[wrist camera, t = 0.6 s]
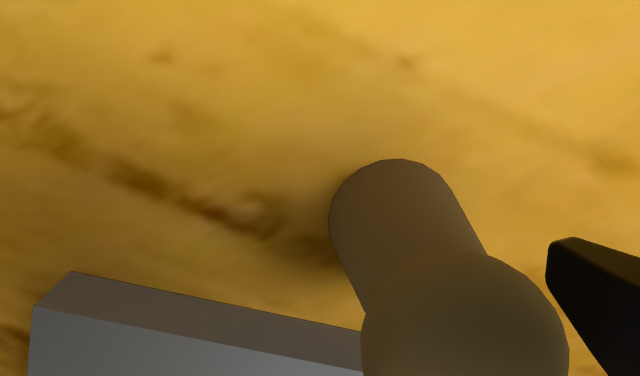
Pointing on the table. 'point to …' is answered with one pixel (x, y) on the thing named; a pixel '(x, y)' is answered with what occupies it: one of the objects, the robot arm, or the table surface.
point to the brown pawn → (436, 283)
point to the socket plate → (175, 336)
